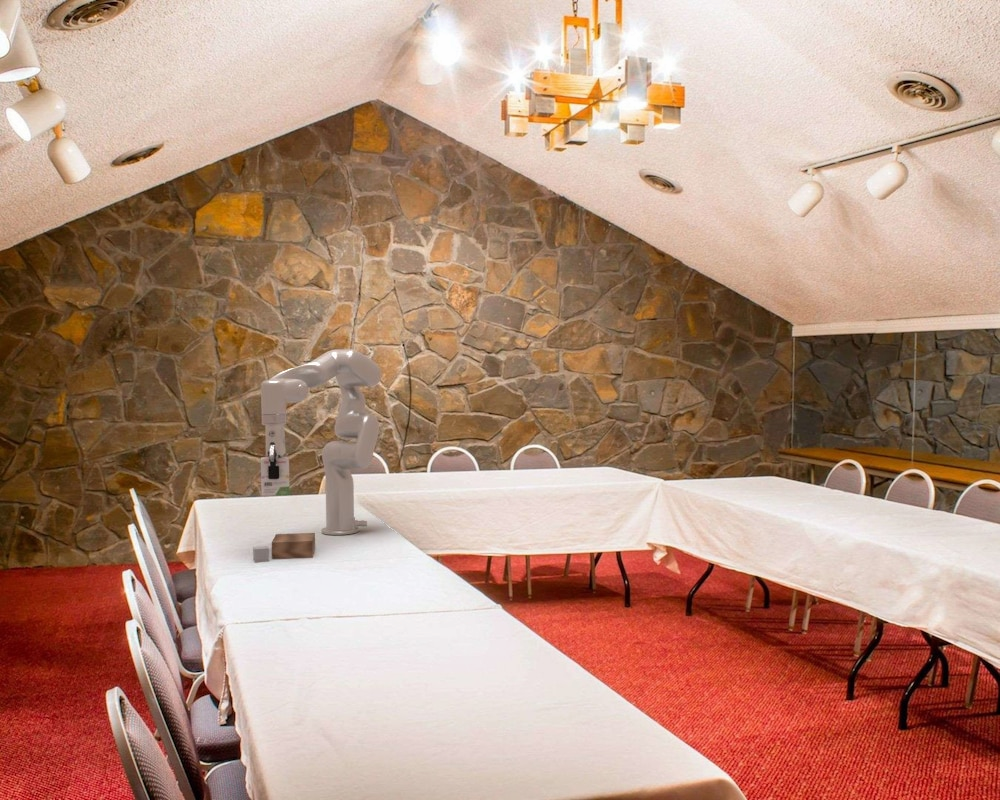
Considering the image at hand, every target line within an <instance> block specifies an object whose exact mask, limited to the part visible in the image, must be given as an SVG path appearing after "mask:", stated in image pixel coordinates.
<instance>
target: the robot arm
mask: <svg viewBox="0 0 1000 800" xmlns="http://www.w3.org/2000/svg"><path fill="white" fill-rule="evenodd" d="M334 378H335V379H336V382H337V384H338V387H339V389H340V393H341V394H340V395H341V403H340V406H339V410H338V413H337V417H336V420H335V423H334V434H335V436H336V437H338V438H339V439H341V440H333V441H329V442H328V443H326V444H325V445H324V447H323V449H322V451H321V452H322V453H321V458H322V462H323V467H324V476H325V477H324V478H325V521H326V523H325V524H326V525H325V527H323V528H322V529H321V533H322V534H325V535H329V536H345V535H352V534H355V533H359V532H360V530H359V527H367V526H368V520H358V519H356V517H355V508H354V507H355V499H354V497H355V496H354V493H355V491H354V486H355V485H354V478H353V475H352V473H351V471H350V470H356V471H360V470H361V471H362V470H365V469H366V468H368V467H369V465H370V464H371V462H372V459H373V456H374V452H375V448H376V446H377V441H378V437H379V433H380V423H379V420H378V418H377V416H376V415H375V414H373V413H369V412H365V409H366V404H367V402H366V398H365V395H364V394H363V392H362V389H361V388H360V387H375V386H377V385H378V384H379V383H380V381H381V379H382V371H381V368H380V366H379V364H377V363H376V362H375V361H374V360H373V359H371V358H370V357H368V356H367V355H365V354H364V353H362V352H360V351H359V350H357V349H354V348H353V349H352V348H351V349H338V348H337V349H332V350H328V351H326V352H325V353H323V354H321V355H319V356H318V357H317V358H315V359H313V360H311V361H310V362H307V363H305V364H301V365H298V366H295V367H293V368H292V367H291V368H289V369H286V370H283V371H281V372H279V373H277V374H275V375H273V376H272V377H270V378H269V379H268V380H263V381H262V382H261V384H260V395H261V397H260V400H261V401H260V402H261V425H262V426H265V431H264V433H265V434H264V435H265V439H264V440H265V454H266V457H269V466H268V478H269V479H279V466H278V457H284V455H285V454H286V435H285V434H286V433H285V427H284V426H285V425H287V423H288V421H287V403H301V402H302V401H304V400H306V399H307V397H308V394H309V389H313V388H317V387H320V386H323V385H325V383H327V382H329V381H330V380H332V379H334ZM344 440H345V441H344ZM347 440H351V441H347ZM352 440H353V441H352ZM275 458H276V459H275Z"/></svg>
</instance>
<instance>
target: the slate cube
mask: <svg viewBox="0 0 1000 800" xmlns="http://www.w3.org/2000/svg"><path fill="white" fill-rule="evenodd" d="M269 549H270V548H269V547H268V546H267V545H261V546H260V545H259V546H253V547H252V551H253V552H252V554H253V560H252V561H254V563H264V562H269V561H270V553H269V552H270V550H269Z"/></svg>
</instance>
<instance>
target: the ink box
mask: <svg viewBox="0 0 1000 800" xmlns="http://www.w3.org/2000/svg"><path fill="white" fill-rule="evenodd" d="M275 459H276V458H275ZM268 466H269V457H268V456H265V457H260V486H261V487H260V489H261V490H260V492H261V496H262V497H269V496H272V497H273V496H289V495H290V493H291V492H290V491H291V490H290V458H289V456H281V457H278V466H279V479H269V478H268Z"/></svg>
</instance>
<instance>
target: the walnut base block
mask: <svg viewBox="0 0 1000 800" xmlns="http://www.w3.org/2000/svg"><path fill="white" fill-rule="evenodd" d="M315 551H316V533H315V532H304V533H302V532H299V533H276V534H275V535H274V537H273V539H272V541H271V559H272V560H276V559H279V560H280V559H281V560H282V559H300V558H303V559H305V558H313V557H314V553H315Z"/></svg>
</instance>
